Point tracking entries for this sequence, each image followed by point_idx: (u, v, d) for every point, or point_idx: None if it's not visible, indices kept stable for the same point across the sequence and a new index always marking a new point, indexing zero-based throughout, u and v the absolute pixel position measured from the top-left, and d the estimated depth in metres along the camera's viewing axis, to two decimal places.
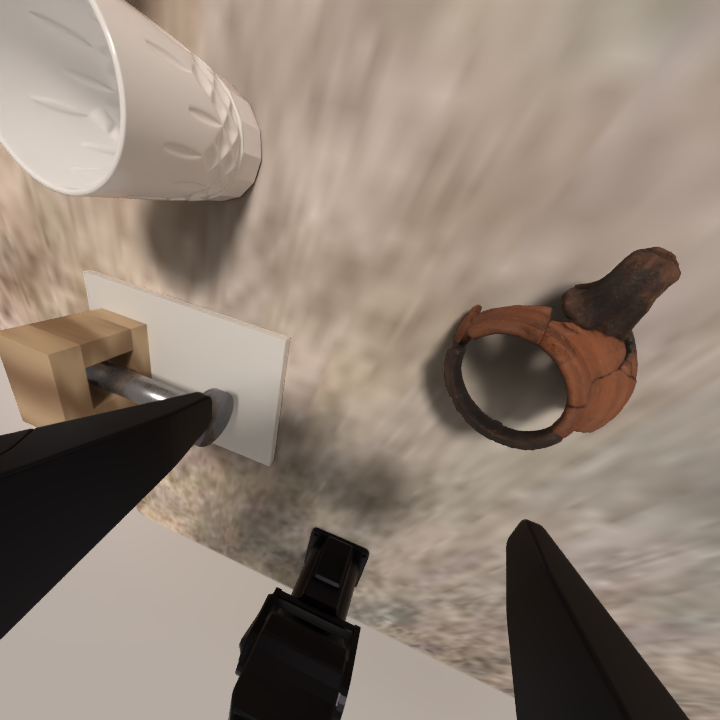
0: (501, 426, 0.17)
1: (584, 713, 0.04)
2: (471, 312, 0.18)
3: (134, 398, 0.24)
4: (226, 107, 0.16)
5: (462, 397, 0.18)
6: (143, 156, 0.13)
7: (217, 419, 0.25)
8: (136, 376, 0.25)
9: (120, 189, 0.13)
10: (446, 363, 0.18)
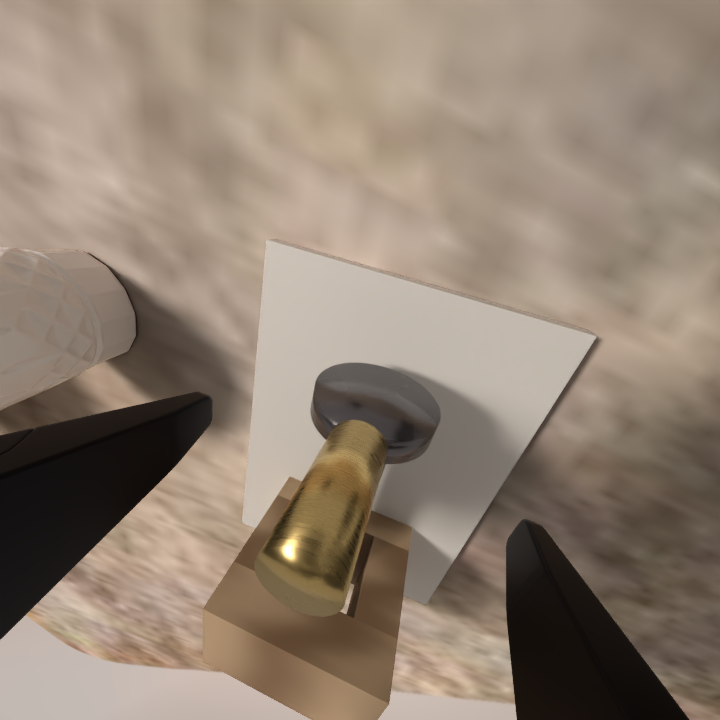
0: None
1: (584, 713, 0.04)
2: None
3: None
4: None
5: None
6: None
7: (387, 393, 0.11)
8: None
9: None
10: None
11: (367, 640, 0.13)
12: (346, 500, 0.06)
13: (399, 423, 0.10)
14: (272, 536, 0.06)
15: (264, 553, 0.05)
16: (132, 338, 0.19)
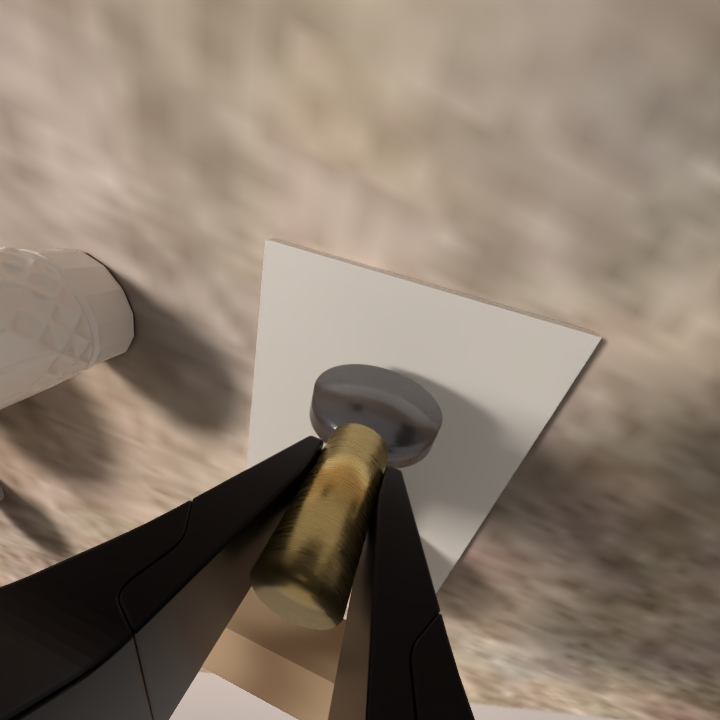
0: None
1: (363, 609, 0.05)
2: None
3: None
4: None
5: None
6: None
7: (388, 395, 0.11)
8: None
9: None
10: None
11: None
12: (345, 508, 0.06)
13: (400, 426, 0.09)
14: (268, 546, 0.05)
15: (260, 564, 0.05)
16: (130, 339, 0.19)
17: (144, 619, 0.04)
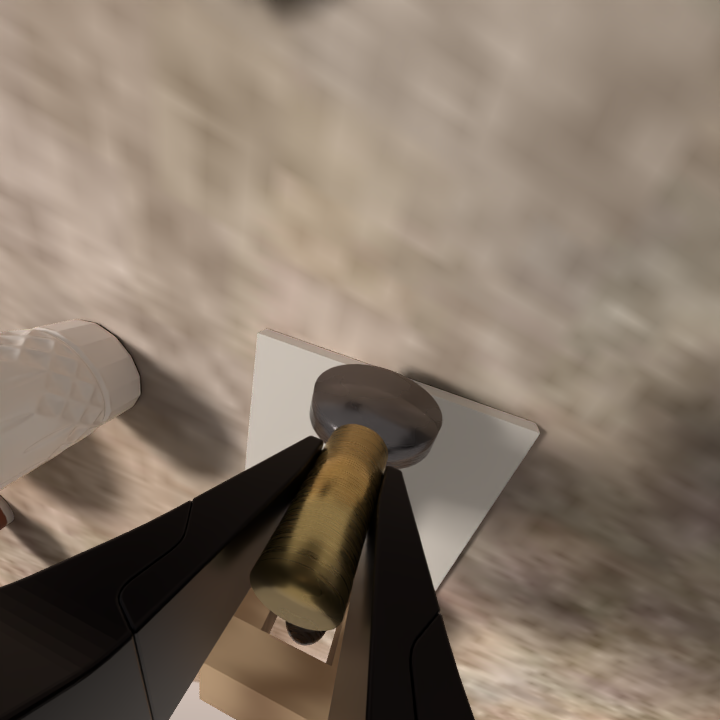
0: None
1: (363, 609, 0.05)
2: None
3: None
4: (3, 331, 0.16)
5: None
6: None
7: (388, 396, 0.11)
8: None
9: None
10: None
11: None
12: (345, 510, 0.06)
13: (400, 427, 0.09)
14: (268, 548, 0.05)
15: (260, 566, 0.05)
16: (137, 397, 0.21)
17: (144, 619, 0.04)
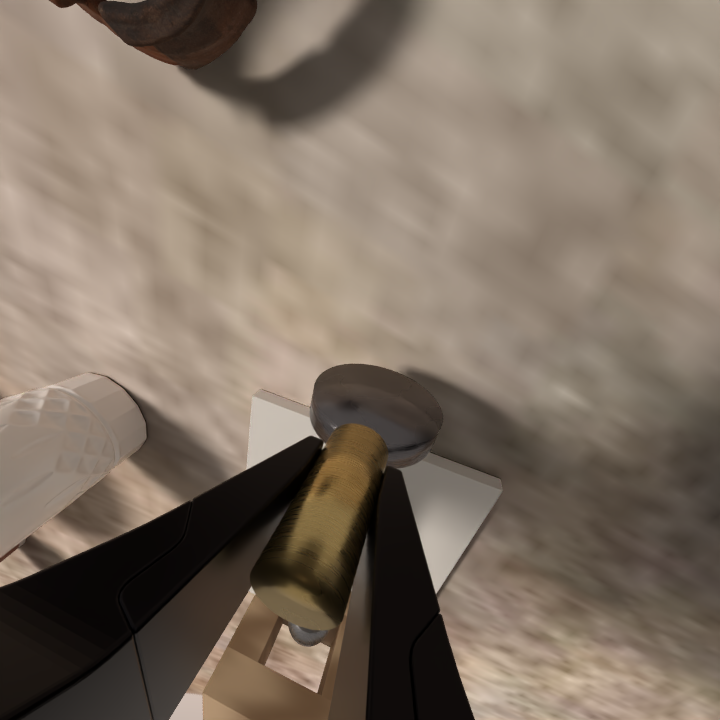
0: None
1: (363, 609, 0.05)
2: None
3: None
4: (24, 392, 0.18)
5: None
6: None
7: (388, 395, 0.11)
8: None
9: None
10: (146, 37, 0.09)
11: None
12: (345, 509, 0.06)
13: (400, 426, 0.09)
14: (268, 547, 0.05)
15: (260, 565, 0.05)
16: (143, 441, 0.22)
17: (144, 619, 0.04)
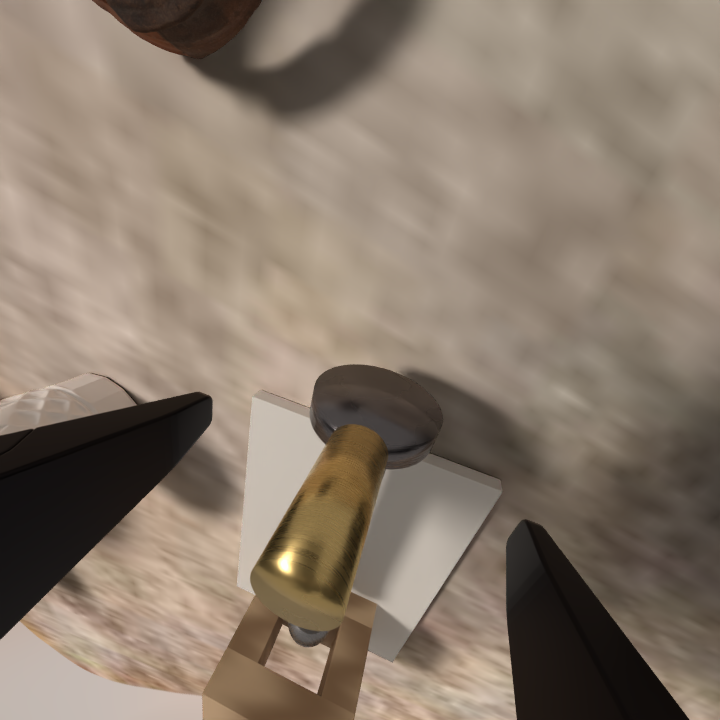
0: None
1: (584, 713, 0.04)
2: None
3: None
4: (24, 393, 0.18)
5: None
6: None
7: (388, 396, 0.11)
8: None
9: None
10: (151, 22, 0.09)
11: (330, 717, 0.16)
12: (345, 509, 0.06)
13: (400, 427, 0.09)
14: (268, 548, 0.05)
15: (260, 566, 0.05)
16: None
17: None
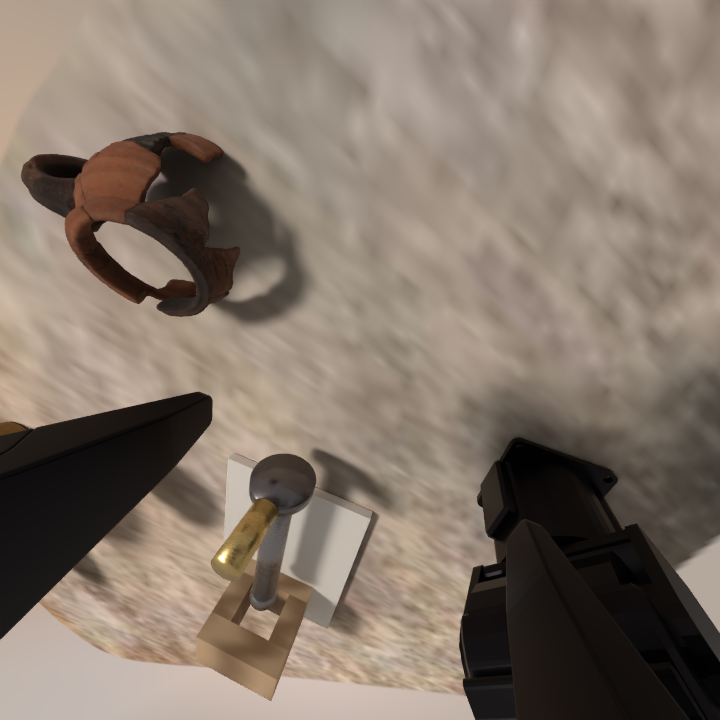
0: None
1: (584, 713, 0.04)
2: None
3: (267, 547, 0.24)
4: None
5: (194, 299, 0.18)
6: None
7: (289, 476, 0.22)
8: None
9: None
10: (177, 315, 0.19)
11: (272, 651, 0.27)
12: (246, 539, 0.17)
13: (288, 496, 0.20)
14: (217, 553, 0.16)
15: (213, 559, 0.16)
16: None
17: None
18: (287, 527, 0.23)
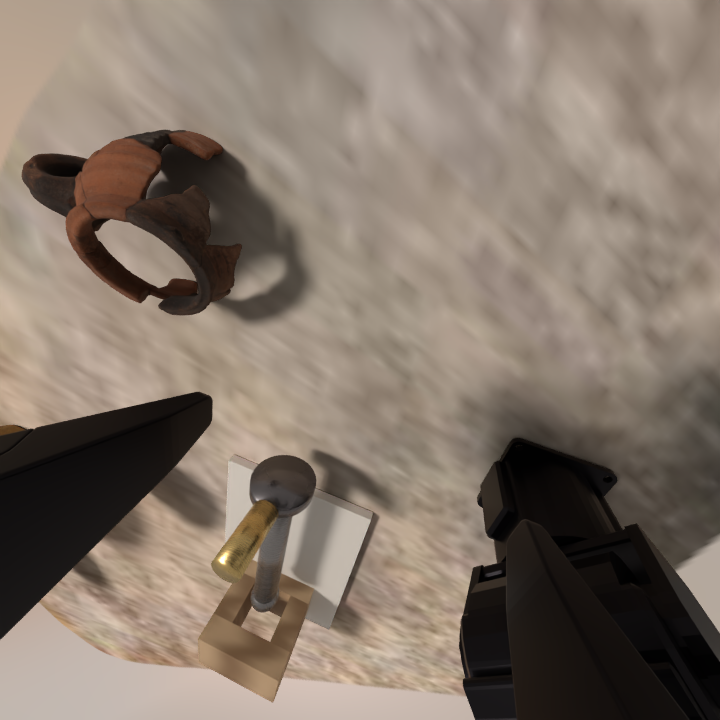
0: None
1: (584, 713, 0.04)
2: None
3: (268, 549, 0.24)
4: None
5: (196, 297, 0.18)
6: None
7: (289, 477, 0.22)
8: None
9: None
10: (179, 314, 0.19)
11: (274, 653, 0.27)
12: (246, 541, 0.17)
13: (288, 498, 0.20)
14: (217, 555, 0.16)
15: (214, 561, 0.16)
16: None
17: None
18: (288, 528, 0.23)
